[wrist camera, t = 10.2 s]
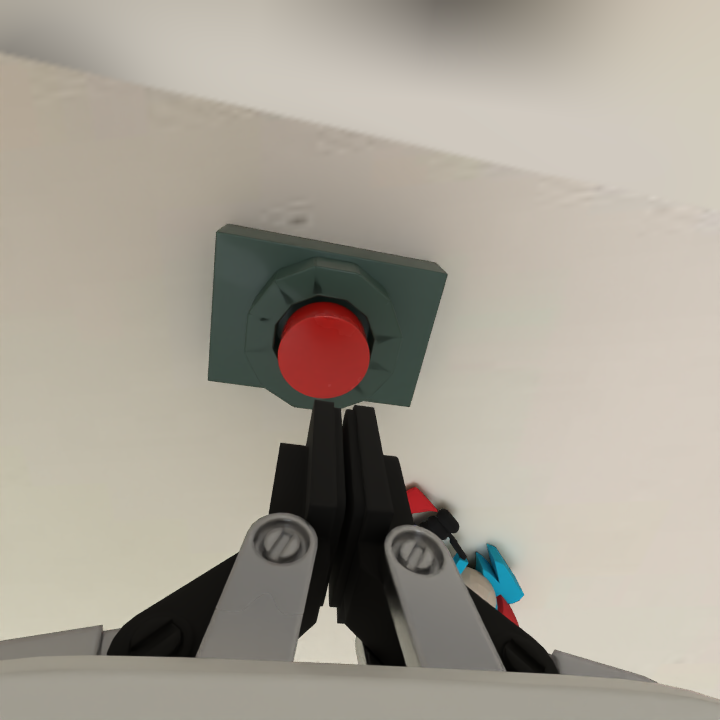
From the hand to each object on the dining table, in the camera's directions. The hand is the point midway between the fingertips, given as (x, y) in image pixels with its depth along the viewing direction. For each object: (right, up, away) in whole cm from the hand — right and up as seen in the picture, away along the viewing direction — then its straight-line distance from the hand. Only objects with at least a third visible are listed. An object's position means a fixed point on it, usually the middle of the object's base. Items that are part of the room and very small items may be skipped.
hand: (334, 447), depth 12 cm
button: (-1, +3, +6) cm, 7 cm away
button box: (-1, +5, +10) cm, 11 cm away
